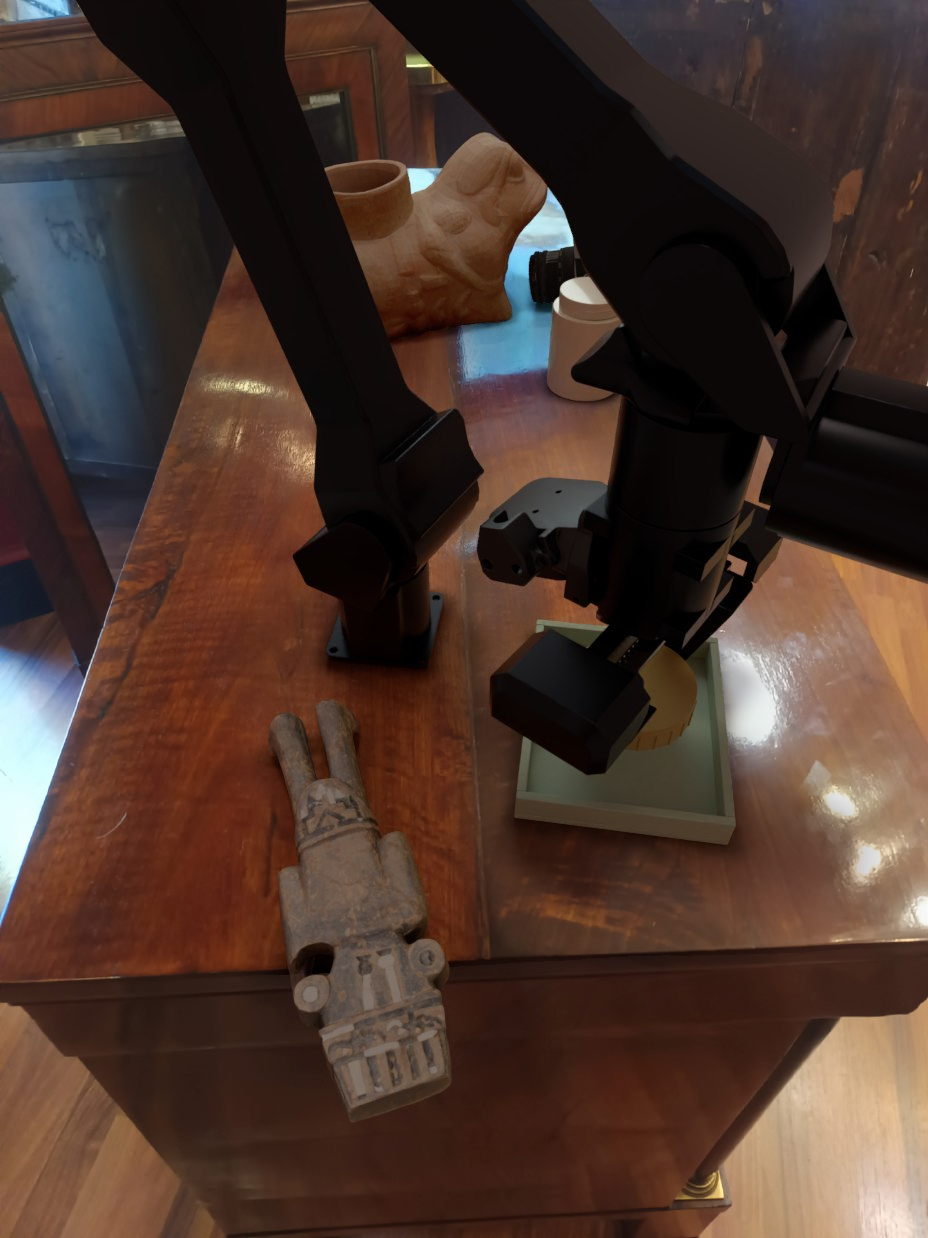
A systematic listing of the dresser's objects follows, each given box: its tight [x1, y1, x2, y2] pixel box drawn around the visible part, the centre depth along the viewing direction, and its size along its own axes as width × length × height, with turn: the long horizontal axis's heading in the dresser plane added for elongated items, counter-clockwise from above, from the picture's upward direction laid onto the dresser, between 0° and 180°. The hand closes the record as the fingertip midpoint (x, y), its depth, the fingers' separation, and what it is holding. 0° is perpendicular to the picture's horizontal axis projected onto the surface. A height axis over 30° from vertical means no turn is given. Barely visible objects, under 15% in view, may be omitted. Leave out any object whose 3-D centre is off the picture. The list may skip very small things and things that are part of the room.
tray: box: [513, 618, 737, 846], centre depth 46 cm, size 13×11×2 cm
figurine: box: [267, 698, 453, 1123], centre depth 39 cm, size 7×5×20 cm
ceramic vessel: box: [324, 132, 549, 342], centre depth 80 cm, size 14×26×15 cm, turn 112°
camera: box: [528, 238, 589, 305], centre depth 83 cm, size 15×11×10 cm
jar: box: [546, 277, 621, 402], centre depth 72 cm, size 6×6×9 cm
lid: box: [586, 641, 697, 751], centre depth 44 cm, size 7×7×2 cm
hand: (624, 715), depth 46 cm, fingers closed on lid, 6 cm apart
